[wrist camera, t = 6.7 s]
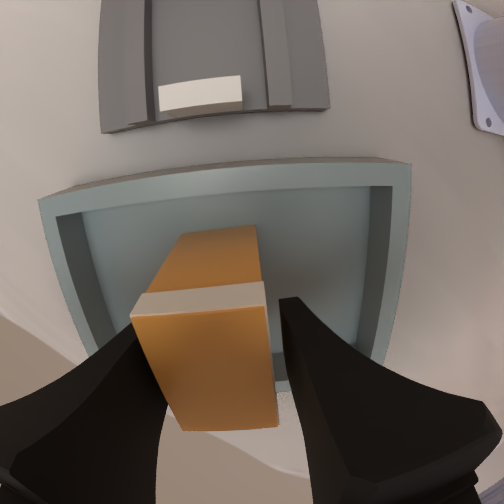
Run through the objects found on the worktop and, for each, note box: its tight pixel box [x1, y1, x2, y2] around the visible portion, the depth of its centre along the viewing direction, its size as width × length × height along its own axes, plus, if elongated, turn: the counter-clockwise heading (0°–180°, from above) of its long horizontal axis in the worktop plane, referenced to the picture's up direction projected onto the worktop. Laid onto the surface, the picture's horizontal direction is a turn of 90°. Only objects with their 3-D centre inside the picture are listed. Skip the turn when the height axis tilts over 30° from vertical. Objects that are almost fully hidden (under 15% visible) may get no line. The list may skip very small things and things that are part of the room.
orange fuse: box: [130, 224, 280, 431], centre depth 10 cm, size 3×5×6 cm
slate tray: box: [38, 157, 412, 392], centre depth 12 cm, size 14×10×3 cm
